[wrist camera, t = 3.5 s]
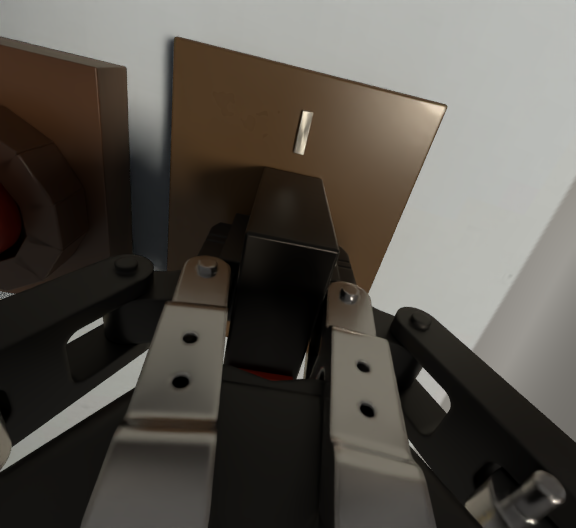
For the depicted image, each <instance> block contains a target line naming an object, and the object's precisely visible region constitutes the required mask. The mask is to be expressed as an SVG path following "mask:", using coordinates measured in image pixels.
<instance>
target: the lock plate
mask: <svg viewBox="0 0 576 528" xmlns="http://www.w3.org/2000/svg"><path fill="white" fill-rule="evenodd" d="M446 109H447V105H446V104H442V103H438V102H434V101H430V100H427V99H423V98H419V97H415V96H411V95H407V94H403V93H399V92H395V91H391V90H387V89H383V88H379V87H375V86H371V85H367V84H363V83H359V82H355V81H352V80H348V79H344V78H340V77H336V76H332V75H328V74H324V73H320V72H316V71H312V70H308V69H304V68H300V67H296V66H292V65H288V64H284V63H280V62H276V61H273V60H269V59H265V58H261V57H257V56H253V55H249V54H245V53H241V52H237V51H233V50H229V49H225V48H221V47H217V46H213V45H209V44H205V43H201V42H197V41H194V40H189V39H185V38H181V37H175V38H174V56H173V90H172V123H171V156H170V190H169V223H168V256H167V271H175V270H181V269H182V267H183V264H184V262H185V261H186V260H188V259H189V258H192V257H195V256H197V255H198V253H199V251H200V250H201V248H202V246H203V244H204V242H205V240H206V238H207V236H208V234H209V232H210V230H211V228H212V227H213V226H214V225H216V224H218V223H220V222H222V223H227V224H232V223H233V220H234V218H235V215H236V213H240V214H245V215H251V211H252V208H253V204H254V201H255V198H256V194H257V191H258V188H259V184H260V181H261V177H262V174H263V171H264V168H266V167H268V168H272V169H277V170H281V171H286V172H290V173H295V174H299V175H304V176H308V177H313V178H317V179H321V180H323V184H324V188H325V193H326V197H327V201H328V205H329V209H330V213H331V217H332V222H333V226H334V230H335V234H336V238H337V242H338V246H340V247H342V248H343V249H344V250H345V252H346V253H347V254H348V256H349V260H350V263H351V267H352V270H353V274H354V277H355V281H356V284H357V286H359V287H360V288H362V289H363V290H365V291H366V292H367V293H369V290H370V288H371V286H372V283H373V281H374V279H375V276H376V274H377V272H378V269H379V267H380V264H381V262H382V260H383V257H384V255H385V253H386V250H387V248H388V246H389V243H390V241H391V239H392V236H393V234H394V232H395V229H396V227H397V224H398V222H399V220H400V217H401V215H402V213H403V210H404V208H405V206H406V203H407V201H408V199H409V196H410V194H411V192H412V189H413V187H414V184H415V182H416V180H417V177H418V175H419V173H420V170H421V168H422V166H423V163H424V161H425V159H426V156H427V154H428V152H429V149H430V147H431V144H432V142H433V140H434V137H435V135H436V133H437V130H438V128H439V126H440V123H441V121H442V119H443V116H444V114H445V112H446ZM229 327H230V321H227V326H226V336H225V337H228V333H229Z"/></svg>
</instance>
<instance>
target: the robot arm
mask: <svg viewBox="0 0 576 528" xmlns="http://www.w3.org/2000/svg"><path fill="white" fill-rule="evenodd" d="M249 218H250V215H245V214H240V213H236V215H235V218H234V220H233V223H232V224H227V223H222V222H220V223H218V224H216V225H214V226H213V227H212V228H211V230H210V232H209V234H208V236H207V238H206V240H205V242H204V244H203V246H202V248H201V250H200V251H199V253H198V255H197V256H195V257H192V258H189V259H188V260H186V261H185V262H184V264H183V267H182V269H181V270H175V271H154V266H153V263H152V262H151V261H150V260H149V259H147V258H145V257H143V256H139V255H134V254H121V255H115V256H111V257H108V258H106V259H103V260H101V261H98V262H96V263H93V264H91V265H88V266H85V267H83V268H80V269H78V270H75V271H73V272H70V273H68V274H65V275H63V276H60V277H58V278H55V279H52V280H50V281H47V282H45V283H42V284H40V285H37V286H35V287H32V288H30V289H27V290H25V291H22V292H19V293H17V294H14V295H12V296H9V297H7V298H4V299H2V300H0V470H1V469H2V467H3V466H4V464H5V463H6V461H7V459H8V458H9V455H10V452H11V448H12V447H13V446H14V445H16V444H17V443H18V442H20V441H21V440H23V439H24V438H25V437H27V436H28V435H30V434H31V433H32V432H34V431H35V430H36V429H38V428H39V427H41V426H42V425H43V424H45V423H46V422H48V421H49V420H50V419H52V418H53V417H55V416H56V415H57V414H59V413H60V412H62V411H63V410H64V409H66V408H67V407H68V406H70V405H71V404H73V403H74V402H75V401H77V400H78V399H80V398H81V397H82V396H84V395H85V394H87V393H88V392H89V391H91V390H92V389H94V388H95V387H96V386H98V385H99V384H100V383H102V382H103V381H105V380H106V379H107V378H109V377H110V376H112V375H113V374H114V373H116V372H117V371H119V370H120V369H121V368H123V367H124V366H126V365H127V364H128V363H130V362H131V361H132V360H134V359H135V358H137V357H138V356H139V355H141V354H142V353H144V352H145V351H146V350H147V349H149V350H148V353H147V356H146V358H145V361H144V364H143V367H142V370H141V373H140V375H139V378H138V381H137V384H136V387H135V388H133V389H132V390H130V391H128V392H127V393H125V394H124V395H122V396H121V397H119V398H117V399H116V400H114V401H113V402H111V403H109V404H108V405H106V406H105V407H103V408H101V409H100V410H98V411H97V412H95V413H94V414H92V415H90V416H89V417H87V418H86V419H84V420H82V421H81V422H79V423H78V424H76V425H74V426H73V427H71V428H70V429H68V430H67V431H65V432H63V433H62V434H60V435H59V436H57V437H55V438H54V439H52V440H51V441H49V442H47V443H46V444H44V445H43V446H41V447H40V448H38V449H36V450H35V451H33V452H32V453H30V454H28V455H27V456H25V457H24V458H22V459H20V460H19V461H17V462H16V463H14V464H13V465H11V466H9V467H8V468H6V469H5V470H3V471H1V472H0V528H576V442H574V441H573V440H572V439H571V438H570V437H569V436H568V435H566V434H565V433H564V432H563V431H562V430H561V429H560V428H558V427H557V426H556V425H555V424H554V423H553V422H552V421H551V420H549V419H548V418H547V417H546V416H545V415H544V414H543V413H541V412H540V411H539V410H538V409H537V408H536V407H535V406H533V405H532V404H531V403H530V402H529V401H528V400H527V399H526V398H524V397H523V396H522V395H521V394H520V393H519V392H517V390H515V389H514V388H513V387H512V386H511V385H510V384H509V383H507V382H506V381H505V380H504V379H503V378H502V377H501V376H499V375H498V374H497V373H496V372H495V371H494V370H493V369H492V368H490V367H489V366H488V365H487V364H486V363H485V362H484V361H482V360H481V359H480V358H479V357H478V356H477V355H475V353H473V352H472V351H471V350H470V349H469V348H468V347H467V346H465V345H464V344H463V343H462V342H461V341H460V340H459V339H458V338H456V337H455V336H454V335H453V334H452V333H451V332H450V331H448V330H447V329H446V328H445V327H444V326H443V325H442V324H440V323H439V322H438V321H437V320H436V319H435V318H434V317H432V316H431V315H429V314H428V313H426V312H424V311H422V310H419V309H417V308H413V307H403V308H400V309H399V310H398V311H397V313H396V315H395V316H393V315H390V314H388V313H385V312H383V311H380V310H378V309H376V308H374V307H372V304H371V299H370V296H369V295H368V293H367V292H366V291H365V290H363V289H362V288H360V287H359V286H357V284H356V281H355V277H354V274H353V270H352V267H351V263H350V260H349V256H348V254H347V253H346V252H345V250H344V249H343V248H342V247H340V246H338V247H339V251H340V253H339V256H338V259H337V262H336V265H335V268H334V271H333V274H332V277H331V280H330V283H329V286H328V289H327V291H326V294H325V297H324V300H323V303H322V306H321V309H320V312H319V315H318V318H317V321H316V324H315V326H314V329H313V332H312V335H311V338H310V341H309V344H308V347H307V350H306V357H305V367H304V376H303V379H296V380H280V381H271V380H267V379H265V378H262V377H260V376H257V375H255V374H252V373H249V372H247V371H244V370H242V369H239V368H237V367H234V366H231V365H225V364H223V357H224V347H225V336H226V326H227V321H231V315H232V309H233V302H234V296H235V290H236V284H237V278H238V272H239V266H240V260H241V254H242V248H243V242H244V236H245V231H246V228H247V225H248V221H249ZM101 317H103V322H104V324H102V325H100V326H98V327H96V328H95V329H93V330H91V331H89V332H88V333H86V334H84V335H82V336H81V337H79V338H77V339H75V340H73V341H72V342H70V343H68V344H67V342H68V340H69V339H70V337H71V336H72V335H73V334H74V333H75V332H76V331H77V330H79V329H81V328H83V327H84V326H86V325H88V324H90V323H92V322H94V321H95V320H97V319H99V318H101ZM422 367H423V368H424V369H425V370H426V371H427V372H428V373H429V374H430V375H431V376H432V377H433V378H434V380H435V381H436V382H437V383H438V384H439V385H440V386H441V387H442V388H443V389H444V390H445V391H446V393H447V394H448V396H449V398H450V402H451V407H450V410H449V412H448V413H446V412H445V411H444V410H443V409H442V408H441V407H440V405H439V404H438V403H437V402H436V401H435V400H434V399H433V398H432V397H431V395H430V394H429V393H428V392H427V391H426V390H425V389H424V388H423V386H422V385H421V384H420V383H419V382H418V381H417V380H416V377H417V376H418V374H419V372H420V371H421V369H422ZM408 439H409V440H410V442H411V443H412V444H413V446H414V447H415V448H416V450H417V451H418V452H419V454H420V455H421V456H422V458H423V459H424V460H425V461H426V463H427V464H428V465H429V467H430V468H431V469H430V468H429V467H428V466H427V464H426V463H425V462H424V461H423V460H422V459H421V458H420V457H419V456H418V454H416V452H415V451H414V450H413V449H412V448H411V447H410V446H409V442H408Z"/></svg>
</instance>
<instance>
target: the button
mask: <svg viewBox="0 0 576 528" xmlns="http://www.w3.org/2000/svg"><path fill="white" fill-rule="evenodd" d="M21 229H22V221H21V215H20V212H19V209H18V207H17V204H16V203H15V201H14V199H13V198H12V197H11V195H10V194H9V193H8V191H7V190H6V189H5V188H4V186H3V185H2V184H1V182H0V254H1V253H2V252H4V251H5V250H7V249H8V248H10V247H11V246H13V245H14V244H15V243H16V241H17V240H18V238H19V236H20V233H21Z"/></svg>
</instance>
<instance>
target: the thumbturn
mask: <svg viewBox="0 0 576 528" xmlns="http://www.w3.org/2000/svg"><path fill="white" fill-rule="evenodd" d="M339 253H340V251H339V247H338V242H337V238H336V234H335V230H334V226H333V222H332V217H331V213H330V209H329V205H328V201H327V197H326V193H325V188H324V184H323V180H321V179H317V178H313V177H308V176H304V175H299V174H295V173H290V172H286V171H281V170H277V169H272V168H268V167H266V168H264V171H263V174H262V177H261V181H260V184H259V188H258V191H257V194H256V198H255V201H254V204H253V208H252V211H251V215H250V218H249V221H248V225H247V228H246V231H245V236H244V242H243V248H242V254H241V260H240V266H239V272H238V278H237V284H236V290H235V296H234V302H233V309H232V315H231V321H230V327H229V333H228V339H227V345H226V351H225V357H224V363H223V364H225V365H231V366H234V367H237V368H239V369H242V370H244V371H247V372H249V373H252V374H255V375H257V376H260V377H262V378H265V379H267V380H271V381H280V380H296V379H297V376H298V373H299V370H300V367H301V364H302V362H303V359H304V356H305V353H306V350H307V347H308V344H309V341H310V338H311V335H312V332H313V329H314V326H315V324H316V321H317V318H318V315H319V312H320V309H321V306H322V303H323V300H324V297H325V294H326V291H327V289H328V286H329V283H330V280H331V277H332V274H333V271H334V268H335V265H336V262H337V259H338V256H339Z"/></svg>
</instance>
